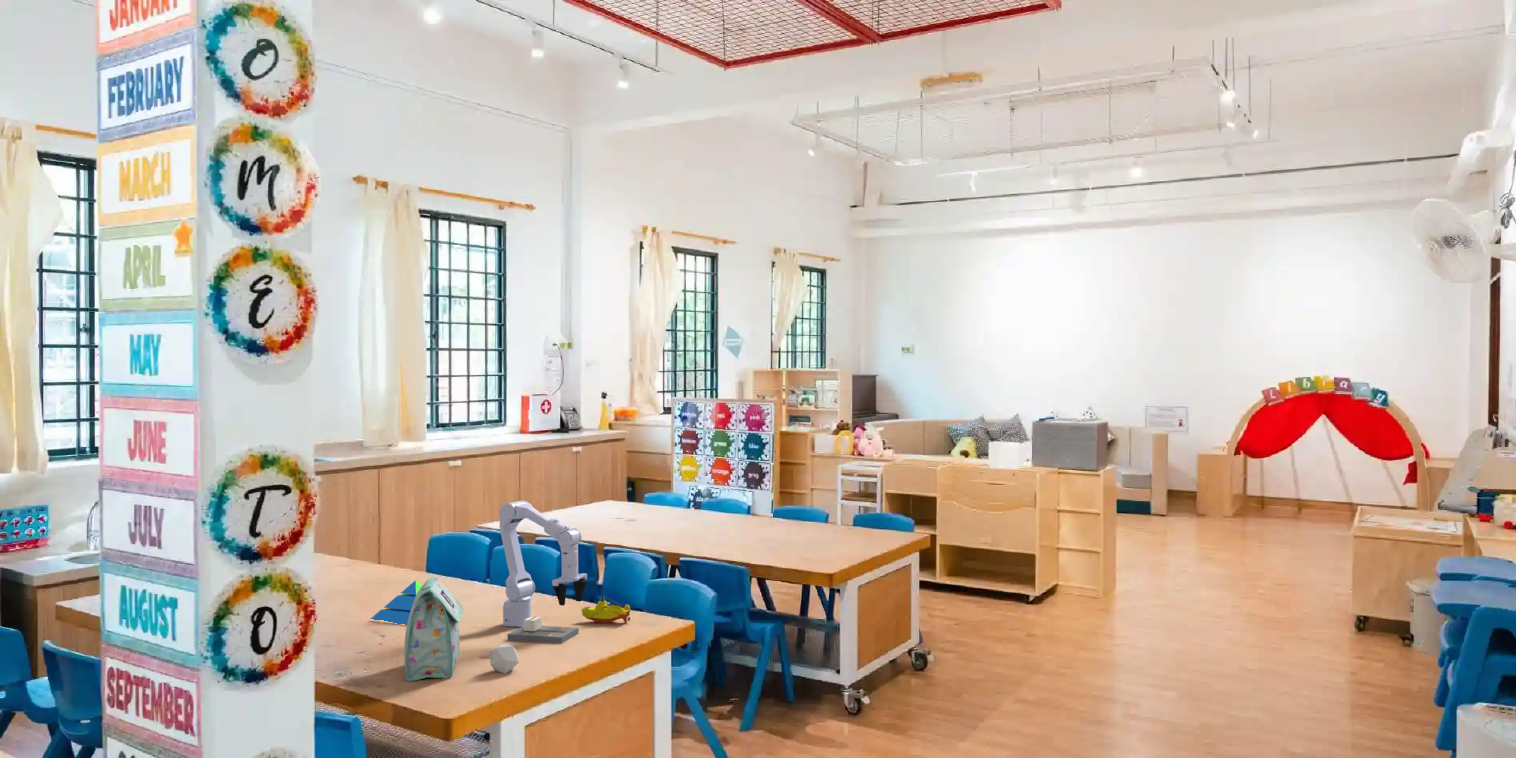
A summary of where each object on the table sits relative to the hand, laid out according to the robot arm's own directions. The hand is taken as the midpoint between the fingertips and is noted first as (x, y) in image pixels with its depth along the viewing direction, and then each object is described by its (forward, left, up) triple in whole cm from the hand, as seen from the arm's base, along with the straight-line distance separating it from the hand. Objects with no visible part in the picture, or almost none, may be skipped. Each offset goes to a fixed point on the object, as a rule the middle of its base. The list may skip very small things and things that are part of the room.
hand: (570, 603), depth 347 cm
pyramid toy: (-66, +7, -10) cm, 67 cm away
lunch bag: (-20, -52, -10) cm, 57 cm away
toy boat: (+8, +13, -10) cm, 18 cm away
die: (+2, -49, -10) cm, 50 cm away
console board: (-5, -10, -10) cm, 15 cm away
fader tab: (-9, -10, -7) cm, 15 cm away
